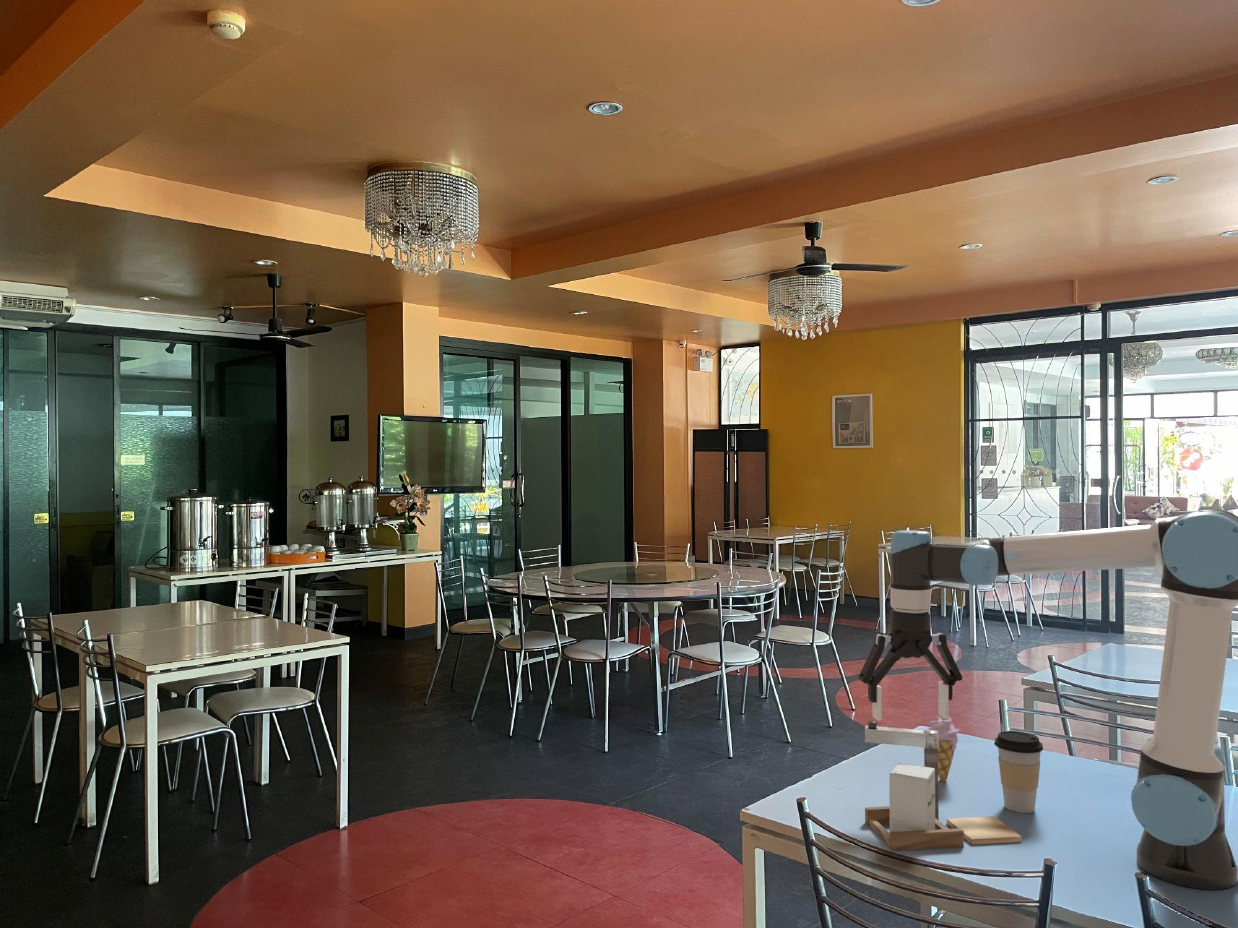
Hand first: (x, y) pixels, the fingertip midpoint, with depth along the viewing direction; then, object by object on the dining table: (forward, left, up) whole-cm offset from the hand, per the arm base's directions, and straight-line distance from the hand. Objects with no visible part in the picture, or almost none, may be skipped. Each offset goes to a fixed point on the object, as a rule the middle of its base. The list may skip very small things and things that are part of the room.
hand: (910, 717), depth 174 cm
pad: (-1, -14, -23) cm, 27 cm away
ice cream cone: (+27, -20, -23) cm, 41 cm away
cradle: (+1, -1, -23) cm, 23 cm away
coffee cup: (+10, -28, -23) cm, 38 cm away
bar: (+10, -2, -8) cm, 13 cm away
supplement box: (0, 0, -23) cm, 23 cm away
